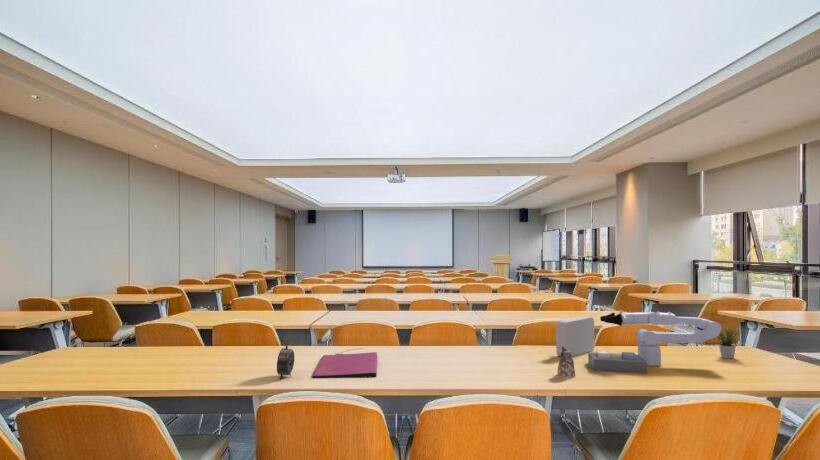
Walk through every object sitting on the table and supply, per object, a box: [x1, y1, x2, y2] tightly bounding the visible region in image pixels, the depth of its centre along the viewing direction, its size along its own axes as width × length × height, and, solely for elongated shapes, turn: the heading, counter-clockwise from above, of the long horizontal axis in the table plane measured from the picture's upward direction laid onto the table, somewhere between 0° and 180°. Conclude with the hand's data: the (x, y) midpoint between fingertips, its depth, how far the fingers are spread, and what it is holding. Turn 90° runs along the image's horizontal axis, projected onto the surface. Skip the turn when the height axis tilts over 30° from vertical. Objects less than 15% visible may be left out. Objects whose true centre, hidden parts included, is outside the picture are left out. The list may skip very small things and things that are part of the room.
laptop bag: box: [312, 348, 378, 379], centre depth 208 cm, size 40×4×27 cm
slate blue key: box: [621, 351, 637, 359], centre depth 203 cm, size 5×5×4 cm
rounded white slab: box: [555, 316, 596, 358], centre depth 234 cm, size 29×8×18 cm, turn 129°
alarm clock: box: [276, 338, 295, 381], centre depth 189 cm, size 11×5×16 cm, turn 178°
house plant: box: [716, 325, 742, 359], centre depth 224 cm, size 14×14×16 cm
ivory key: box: [596, 350, 610, 358], centre depth 205 cm, size 5×5×4 cm
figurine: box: [557, 347, 576, 379], centre depth 192 cm, size 7×7×12 cm
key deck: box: [587, 351, 648, 375], centre depth 204 cm, size 22×14×5 cm, turn 77°
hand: (602, 319), depth 216 cm, fingers open, 7 cm apart
